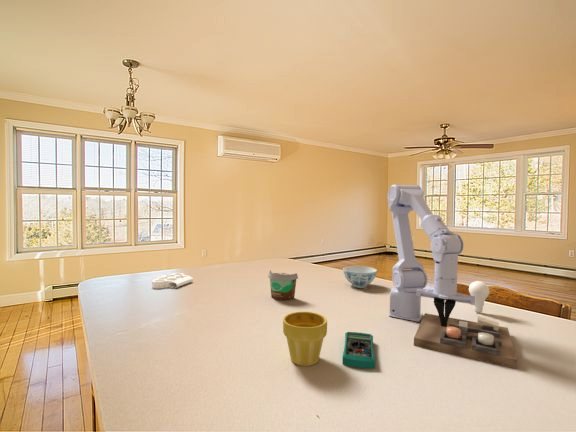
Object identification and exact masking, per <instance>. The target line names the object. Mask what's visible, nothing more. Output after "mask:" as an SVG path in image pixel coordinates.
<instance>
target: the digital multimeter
mask: <svg viewBox="0 0 576 432" xmlns="http://www.w3.org/2000/svg"><path fill="white" fill-rule="evenodd" d="M344 334H345V335H344V339H345V340H344V346H343V347H344V348H343V351H342V352H343V353H342V365H344V366H345V367H346V366H347V367H352V368H355V369H368V370H370V369H376V358H375V351H374V336H373V335H372V334H371V333H364V332H356V331H355V332H354V331H347V332H345V333H344Z"/></svg>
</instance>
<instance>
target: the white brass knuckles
mask: <svg viewBox="0 0 576 432" xmlns="http://www.w3.org/2000/svg"><path fill="white" fill-rule="evenodd" d="M192 282H194V277H192V276H190V275H187V274H186V275H185V273H181V272H175V273H174V272H173V273H171V274H165V275H162V276H159V277H157V278H156V279H152V281H151V287H152V289H154V290H155V289H156V290H157V289H165V288H167V289H168V288H169V289H177V288H179V287H181V286H185V285H187V284H190V283H192Z"/></svg>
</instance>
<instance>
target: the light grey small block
mask: <svg viewBox="0 0 576 432" xmlns="http://www.w3.org/2000/svg"><path fill="white" fill-rule="evenodd" d="M467 323H468V322H464V321H459V329H460V330H461V333H463V334H467Z"/></svg>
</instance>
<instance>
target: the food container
mask: <svg viewBox="0 0 576 432" xmlns="http://www.w3.org/2000/svg"><path fill="white" fill-rule="evenodd" d="M267 277H268V279H269V285H270V295H271V297H270V298H272V299H273V300H275V301H290V300H293V299H295V294H296V284H297V279H299V276H298V273H297V272H296V273H291V274H288V273H285V272H272V270H269V271H268V276H267Z"/></svg>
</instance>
